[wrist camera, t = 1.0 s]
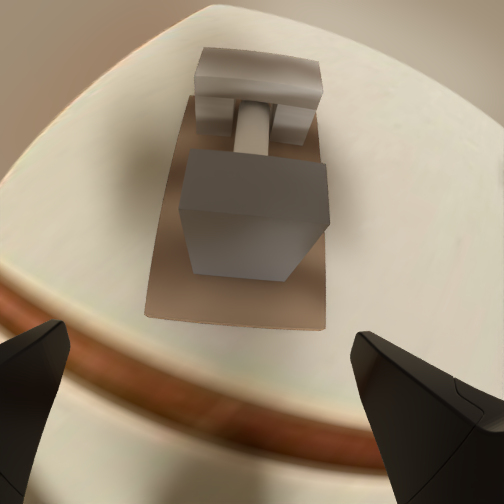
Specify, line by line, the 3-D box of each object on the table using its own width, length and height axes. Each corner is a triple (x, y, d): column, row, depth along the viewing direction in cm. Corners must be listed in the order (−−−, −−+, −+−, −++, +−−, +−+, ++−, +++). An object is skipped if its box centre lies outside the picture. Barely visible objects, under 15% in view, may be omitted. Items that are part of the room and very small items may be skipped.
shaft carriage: (284, 281, 21) (330, 224, 12) (193, 273, 20) (178, 208, 12) (286, 132, 25) (311, 48, 17) (215, 124, 25) (219, 36, 16)
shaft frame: (320, 330, 21) (368, 313, 14) (148, 317, 20) (113, 292, 13) (312, 118, 28) (334, 59, 21) (190, 104, 27) (187, 40, 20)
